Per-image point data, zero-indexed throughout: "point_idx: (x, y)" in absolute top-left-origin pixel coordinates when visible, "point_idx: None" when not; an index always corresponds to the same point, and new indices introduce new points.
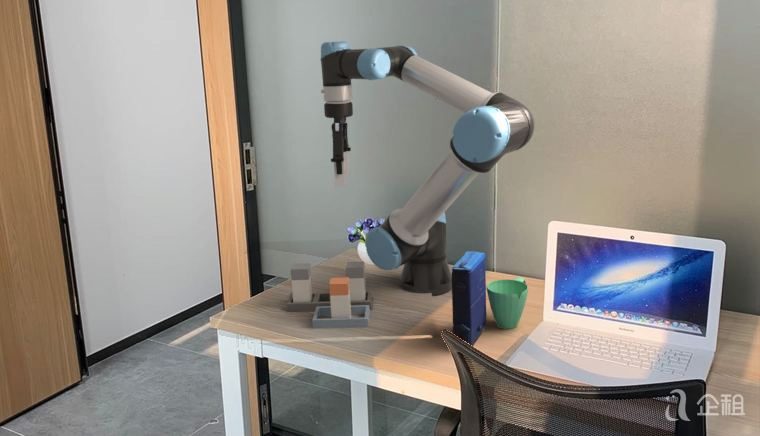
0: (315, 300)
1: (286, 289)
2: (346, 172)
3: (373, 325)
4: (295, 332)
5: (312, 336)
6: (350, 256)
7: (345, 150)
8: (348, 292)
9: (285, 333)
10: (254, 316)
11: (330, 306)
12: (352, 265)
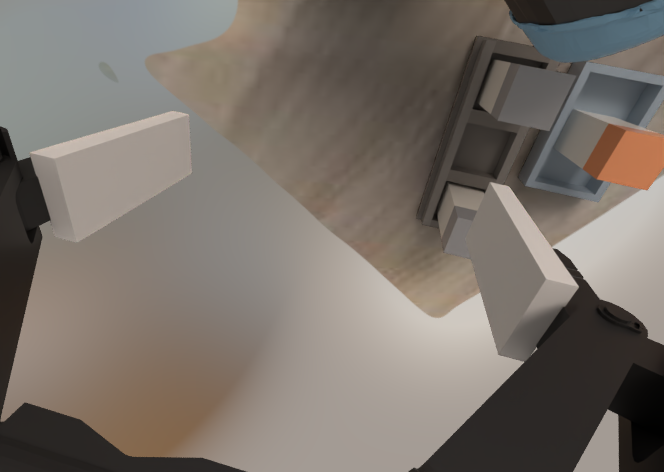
0: (486, 183)
1: (345, 216)
2: (179, 137)
3: (634, 58)
4: (567, 222)
5: (607, 195)
6: (165, 60)
7: (25, 185)
8: (651, 132)
9: (561, 237)
10: (456, 275)
11: (541, 157)
12: (539, 108)
